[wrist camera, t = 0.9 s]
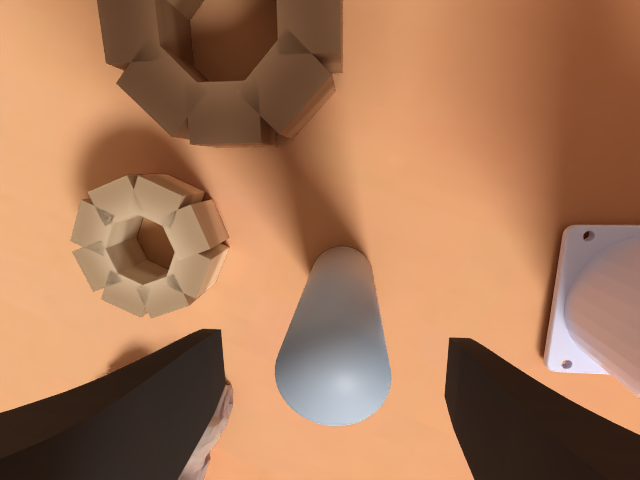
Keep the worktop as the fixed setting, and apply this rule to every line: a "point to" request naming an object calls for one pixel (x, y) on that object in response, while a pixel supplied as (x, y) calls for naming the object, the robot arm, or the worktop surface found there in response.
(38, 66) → the worktop surface
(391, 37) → the worktop surface
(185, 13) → the brown segmented ring
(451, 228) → the worktop surface
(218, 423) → the turtle
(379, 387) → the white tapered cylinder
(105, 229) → the beige notched ring
